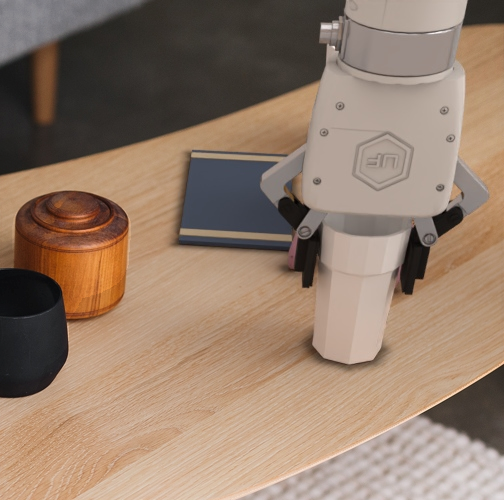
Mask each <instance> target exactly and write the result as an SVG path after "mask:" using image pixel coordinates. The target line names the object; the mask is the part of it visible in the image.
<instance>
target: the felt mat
mask: <svg viewBox="0 0 504 500" xmlns="http://www.w3.org/2000/svg"><path fill="white" fill-rule="evenodd" d="M190 155H191V156H190V163H189V169H188V175H187V177H188V178H187V182H186V189H185V196H184V202H183V209H182V214H181V215H182V216H181V222H180V228H179V235H178V245H189V246H190V245H191V246H193V245H194V246H206V247H207V246H208V247H224V248H225V247H226V248H240V249H257V250H273V251H288V252H289V250H290V247H291V244H292V242H293V227H292V226H291V225H290V224H289V223H288V222H287V221H286V220H285V219H284V217H283V216H282V215H281V214H280V213H279V211H278V208H277V207H276V206H275V205H274V204H273V203H272V202H271V201H270V200H269V198H268V197H267V196H266V195H265V193H264V192H263V191H262V190H261V188H260V178H261V175H262V174H263V173H265V172H266V171H267V170H269V169H270V168H272V167H273V166H274V165H276V164H277V163H279V162H280V161H281V160H283V159H284V158H286V157H287V156H288V155H289V154H285V153H284V154H283V153H266V152H264V153H263V152H247V151H246V152H245V151H227V150H226V151H225V150H224V151H223V150H207V149H206V150H205V149H192V150H191V154H190ZM285 185H286V187H287V189H288V190H289V191H290V192H292V193H293V179H292V180H290V181H289V182H287V183H286V184H285Z"/></svg>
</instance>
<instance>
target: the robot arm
mask: <svg viewBox="0 0 504 500" xmlns="http://www.w3.org/2000/svg"><path fill="white" fill-rule="evenodd" d="M468 1H469V0H345V6H344V8H343V12H342V16H341V15H339V16H338V19H337V20H332V21H331V22H320V24H319V31H318V40H317V41H318V44H323V45H324V44H325V45H327V44H329V46H335V51H339V52H337V53H334V54H332V55H331V56H330V57H329V59H328V61H327V64H326V63H325V67H324V69H323V72H322V75H321V78H320V82H319V85H318V88H317V92H316V95H315V99H314V103H313V106H312V111H311V116H310V121H309V125H308V130H307V135H306V140H305V143H304V144H302V145H301V146H300V147H298V148H297V149H295V150H294V151H292V152H291V153H290V154H287V155H288V156H287V157H286V158H284V159H283V160H281V161H280V162H279V163H277V164H276V165H274V166H273V167H272V168H270V169H269V170H267V171H266V172H265V173H263V174H262V175H261V178H260V188H261V190H262V191H263V192H264V193H265V195H266V196H267V197H268V198H269V200H270V201H271V202H272V203H273V204H274V205H275V206H276V207H277V208H278V211H279V213H280V214H281V215H282V216H283V217H284V219H285V220H286V221H287V222H288V223H289V224H290V225H291V226H292V229H293V230H294V231H295V234H296V233H297V236H298V239H297V246H296V253H295V260H294V269H293V272H298V273H301V288H302V289H310V287H313V283H314V276H315V271H316V264H317V258H318V255H317V252H318V245H319V233H318V226H319V225H320V223H321V222H322V221H323V219H324V218H325V216H326V215H327V214H328V213H334V214H349V215H366V216H384V217H403V218H413V222H414V224H413V226H414V227H412V228H411V232H410V236H409V241H408V245H407V249H406V254H405V258H404V262H403V264H402V265H401V270H400V280H399V282H400V288H401V293H402V294H404V295H408V296H412V295H413V293H414V289H415V285H416V284H415V283H416V280H421V281H422V280H424V278H425V275H426V269H427V265H428V260H429V256H430V251H431V247H433V246H435V245H436V244H437V243H438V241H439V238H441V237H442V236H443V235H445V234H447V233H448V232H450V231H451V230H452V229H454V228H455V227H457V226H458V225H460V224H461V223H462V222H463V220H464V218H466V217H467V216H469V215H471V214H472V213H474V212H475V211H476V210H478V209H479V208H480V207H482V206H483V205H484V204H485V203H487V202H488V201H489V199H490V192H489V189H488V188H489V187H488V185H487V184H486V183H485V182H484V181H483V180H482V179H481V178H480V177H479V176H478V175H477V174H476V172H475V171H474V170H473V169H472V168H471V167H470V166H469V165H468V164H467V163H466V162H465V160H463V159H462V158H461V157H460V156H459V150H460V145H461V139H462V129H463V121H464V113H465V112H464V111H465V104H466V103H465V102H466V101H465V100H466V70H465V69H464V66H463V65H462V63H461V62H460V61H459V60H457V59H456V56H457V51H458V47H459V43H460V37H461V33H462V27H463V23H464V19H465V15H466V9H467V4H468ZM299 175H301V183H300V184H301V186H300V187H301V189H300V190H301V197H302V202H303V203H302V202H301V201H300V199H299V198H298V197H297V196H296V194H294V193H293V191H292V192H290V191H289V190H288V189H287V187H286V185H285V184H286V183H287V182H289V181H290V180H292V181H293V179H294V178H296V177H297V176H299ZM454 185H455V186H456V187H457V188H458V189H459V190H460V191H461V192H460V193H459V194H458V195H456V197H455V198H454V199H451V196H452V191H453V186H454Z"/></svg>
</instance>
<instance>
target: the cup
mask: <svg viewBox="0 0 504 500" xmlns="http://www.w3.org/2000/svg"><path fill="white" fill-rule="evenodd" d="M413 222H414V219H413V218H403V217H384V216H366V215H349V214H334V213H328V214H327V215H326V216H325V218H324V219H323V221H322V222H321V223H320V225H319V231H318V233H319V245H318V252H317V258H318V262H317V275H316V276H317V277H316V289H315V291H316V293H315V306H314V307H315V308H314V322H313V323H314V324H313V335H312V344H311V345H312V347H313V348H314V349H315V350H316V351H317V353H318V354H319V355H320V356H321V357H322V358H323V359H325V360H330V361H332V362H333V361H334V362H337V363H342V364H346V365H355V364H359V363H365V362H369V361H373V360H374V359H375V358H376V356H377V355H378V354H379V351H380V350H381V348H382V344H383V337H384V334H385V330H386V326H387V321H388V317H389V312H390V308H391V305H392V300H393V296H394V293H395V288H396V287H395V284H396V280H397V276H398V271H399V267H400V265H402V264H403V262H404V258H405V254H406V249H407V245H408V241H409V236H410V232H411V228H412V224H413Z"/></svg>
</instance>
